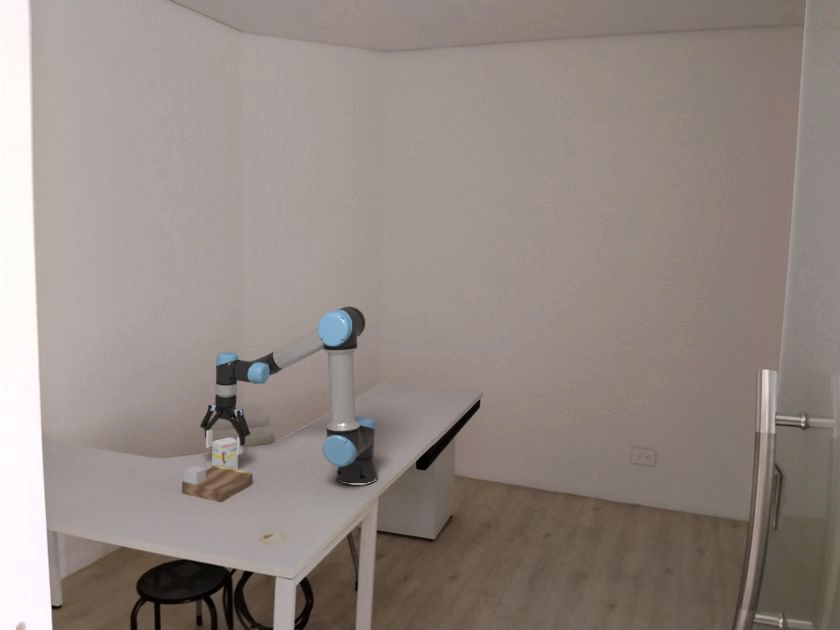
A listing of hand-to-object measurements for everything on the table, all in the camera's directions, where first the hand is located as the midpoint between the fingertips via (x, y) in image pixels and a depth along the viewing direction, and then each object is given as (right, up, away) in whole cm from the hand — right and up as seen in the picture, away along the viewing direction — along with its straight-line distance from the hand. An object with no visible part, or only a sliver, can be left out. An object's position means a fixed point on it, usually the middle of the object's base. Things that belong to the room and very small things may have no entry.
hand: (224, 450), depth 267 cm
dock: (+2, -10, -16) cm, 19 cm away
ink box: (0, -8, +1) cm, 8 cm away
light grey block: (-5, -7, -20) cm, 22 cm away
